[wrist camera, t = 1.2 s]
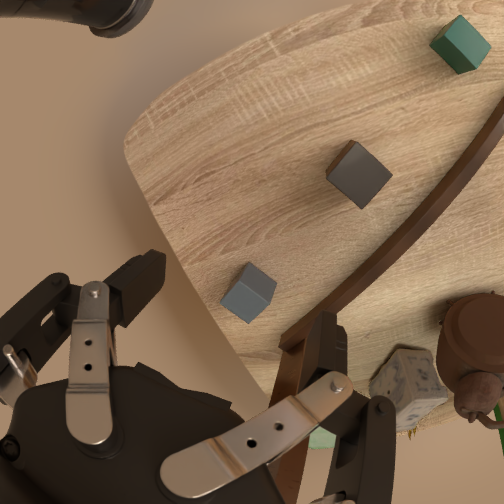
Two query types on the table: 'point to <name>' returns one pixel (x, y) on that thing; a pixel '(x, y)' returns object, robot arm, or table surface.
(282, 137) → the table surface
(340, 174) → the middle block
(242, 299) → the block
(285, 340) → the rail
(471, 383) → the alarm clock
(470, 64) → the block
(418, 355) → the incense holder
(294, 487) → the end post
